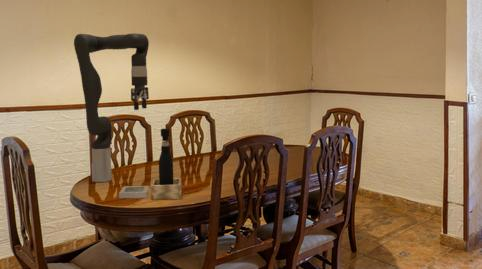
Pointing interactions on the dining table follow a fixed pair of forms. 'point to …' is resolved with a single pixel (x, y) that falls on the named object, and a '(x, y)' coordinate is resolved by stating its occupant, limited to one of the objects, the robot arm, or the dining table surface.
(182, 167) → the dining table surface
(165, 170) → the wine bottle
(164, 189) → the crate
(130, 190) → the grey square tray
